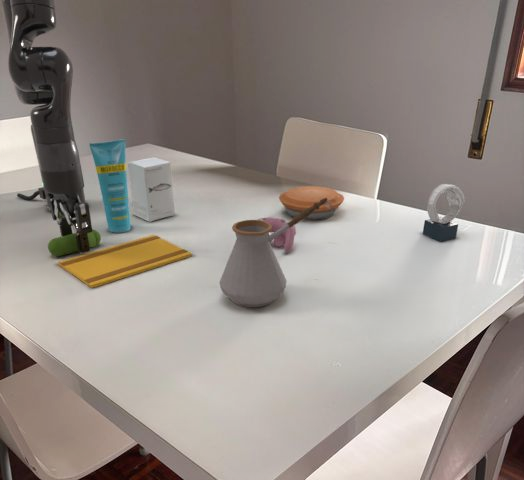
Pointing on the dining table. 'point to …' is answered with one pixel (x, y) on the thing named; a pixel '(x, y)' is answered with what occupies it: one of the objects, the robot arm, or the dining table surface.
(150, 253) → the towel
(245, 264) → the coffee pot
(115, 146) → the tube
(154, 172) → the white packaging box
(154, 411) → the dining table surface
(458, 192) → the ring sculpture on base
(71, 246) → the pickle
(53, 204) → the robot arm
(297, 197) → the pie
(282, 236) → the video game controller
